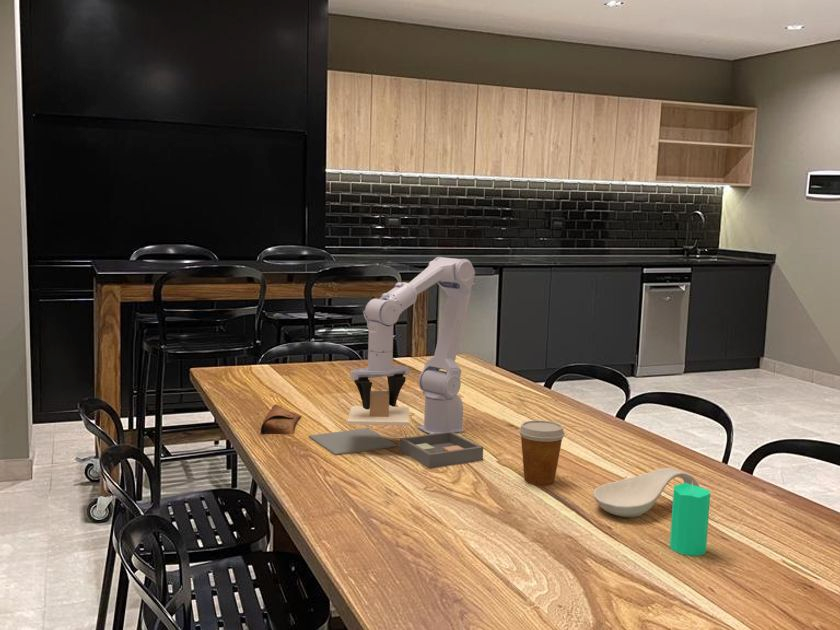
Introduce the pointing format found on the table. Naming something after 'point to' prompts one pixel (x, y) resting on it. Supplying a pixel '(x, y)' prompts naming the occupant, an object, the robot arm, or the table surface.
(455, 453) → the storage box
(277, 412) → the sunglasses case
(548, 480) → the disposable coffee cup
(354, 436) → the slate mat
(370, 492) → the table surface
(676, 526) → the candle
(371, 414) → the lid
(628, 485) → the spoon rest
